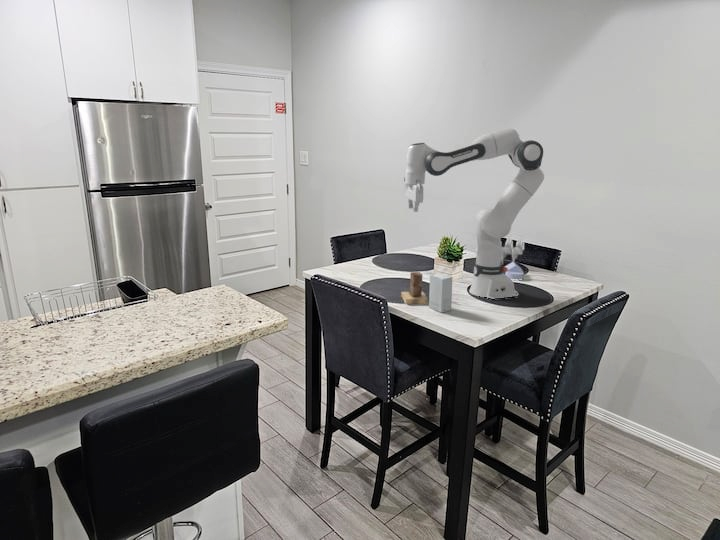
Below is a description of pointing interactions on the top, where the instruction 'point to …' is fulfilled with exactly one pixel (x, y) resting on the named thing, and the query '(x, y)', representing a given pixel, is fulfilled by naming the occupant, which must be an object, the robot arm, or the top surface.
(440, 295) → the skincare box
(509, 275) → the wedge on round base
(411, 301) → the oak slab
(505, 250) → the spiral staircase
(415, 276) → the walnut post
